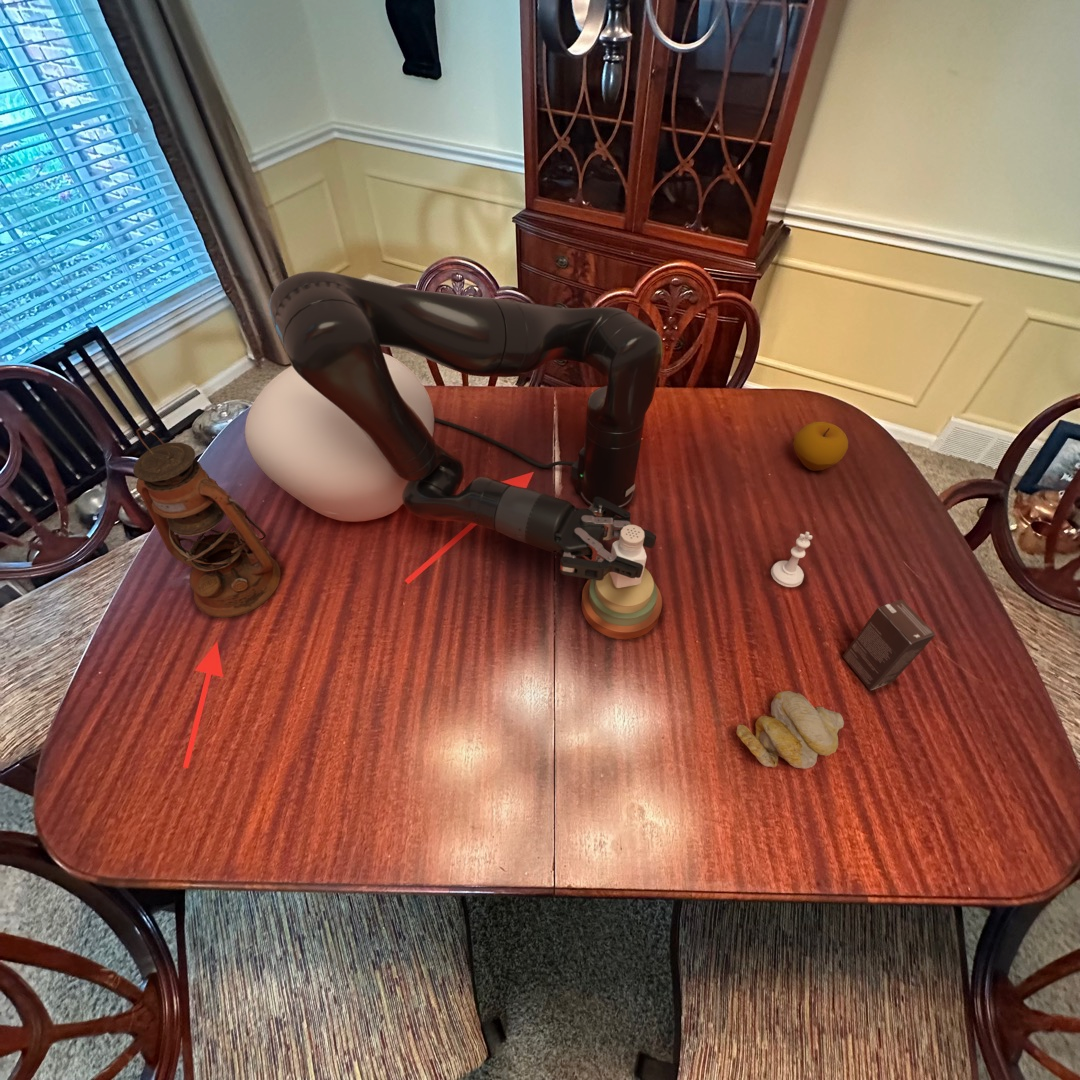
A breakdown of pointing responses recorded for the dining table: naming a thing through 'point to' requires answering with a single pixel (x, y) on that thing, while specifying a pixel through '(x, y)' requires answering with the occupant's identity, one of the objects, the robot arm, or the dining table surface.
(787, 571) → the chess piece
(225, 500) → the lantern
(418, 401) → the pale giant fruit
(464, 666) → the dining table surface
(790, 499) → the dining table surface
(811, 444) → the apple
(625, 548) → the pepper shaker
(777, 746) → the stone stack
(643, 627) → the ring stack
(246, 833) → the dining table surface
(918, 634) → the box
